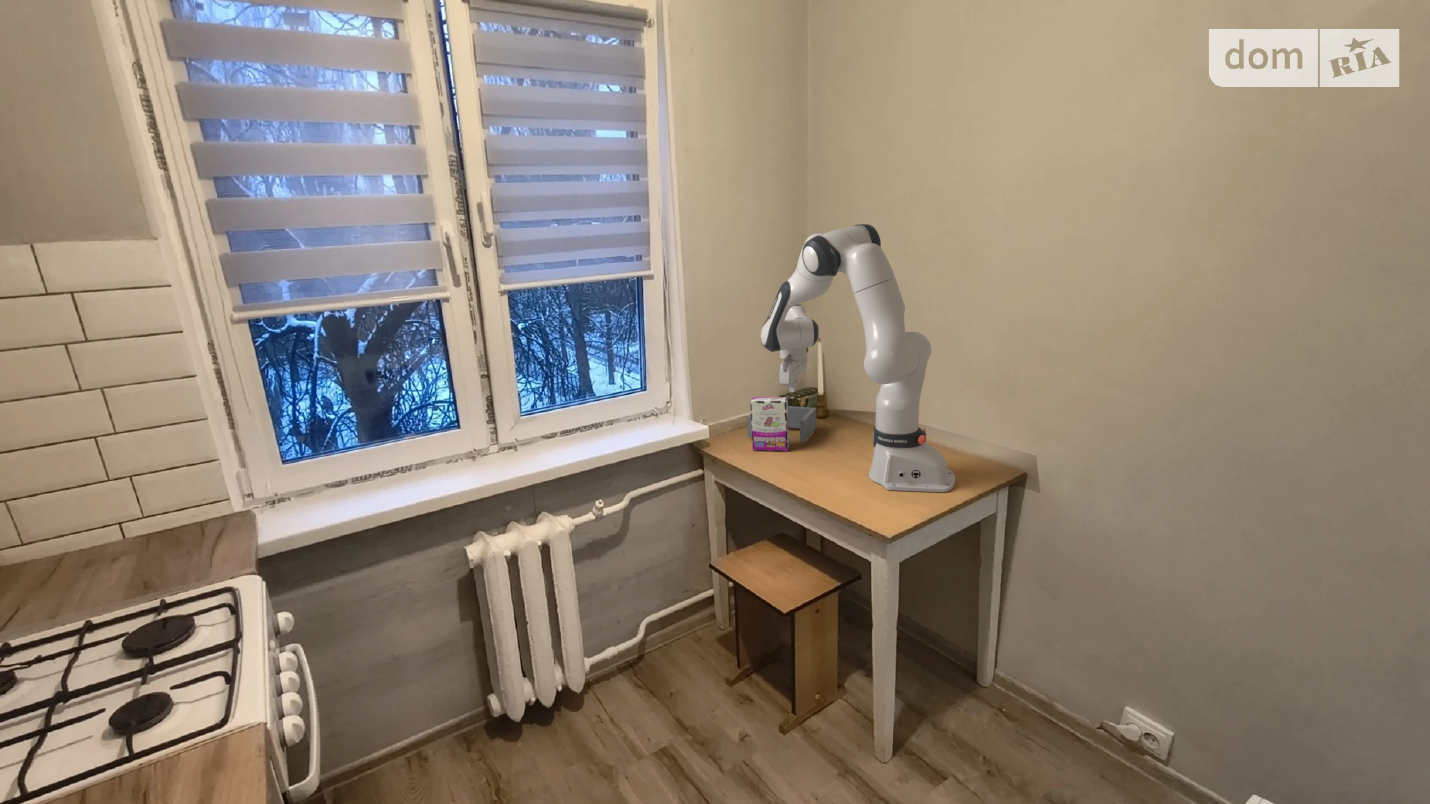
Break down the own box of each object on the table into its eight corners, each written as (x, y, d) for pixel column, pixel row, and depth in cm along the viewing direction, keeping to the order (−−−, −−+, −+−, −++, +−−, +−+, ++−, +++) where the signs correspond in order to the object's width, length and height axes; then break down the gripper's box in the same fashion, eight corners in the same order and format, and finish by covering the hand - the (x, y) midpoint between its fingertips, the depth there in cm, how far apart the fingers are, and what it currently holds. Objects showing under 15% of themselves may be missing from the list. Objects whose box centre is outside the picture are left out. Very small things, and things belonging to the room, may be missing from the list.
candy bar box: (789, 446, 200) (788, 396, 196) (788, 452, 196) (786, 401, 191) (754, 445, 203) (752, 396, 198) (752, 451, 198) (749, 401, 193)
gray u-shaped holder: (816, 429, 212) (816, 408, 210) (804, 444, 200) (804, 421, 197) (762, 425, 219) (761, 404, 217) (748, 438, 207) (747, 416, 205)
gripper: (793, 359, 205) (793, 400, 209) (809, 345, 223) (809, 383, 227) (774, 358, 207) (775, 399, 211) (792, 345, 225) (792, 382, 229)
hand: (793, 391), depth 219 cm, fingers closed
